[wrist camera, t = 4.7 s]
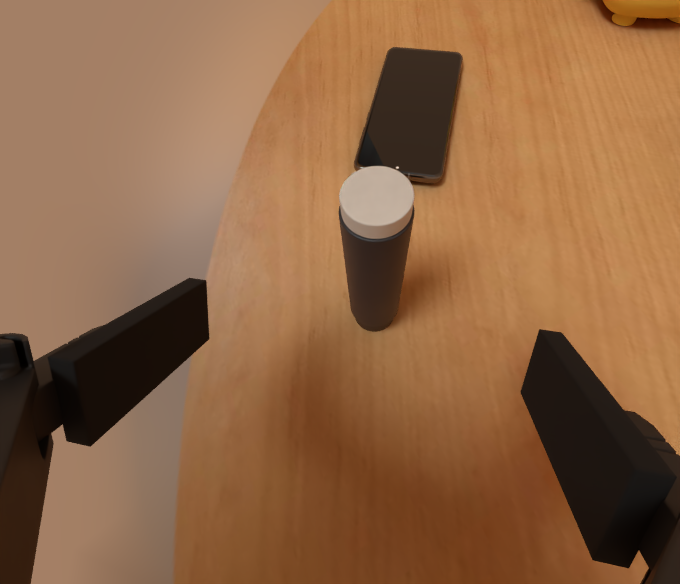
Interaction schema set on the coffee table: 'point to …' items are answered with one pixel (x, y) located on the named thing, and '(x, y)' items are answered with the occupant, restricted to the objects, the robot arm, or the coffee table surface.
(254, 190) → the coffee table surface
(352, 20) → the coffee table surface
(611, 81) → the coffee table surface
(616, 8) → the teapot
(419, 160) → the smartphone
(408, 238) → the dark grey capped cylinder
